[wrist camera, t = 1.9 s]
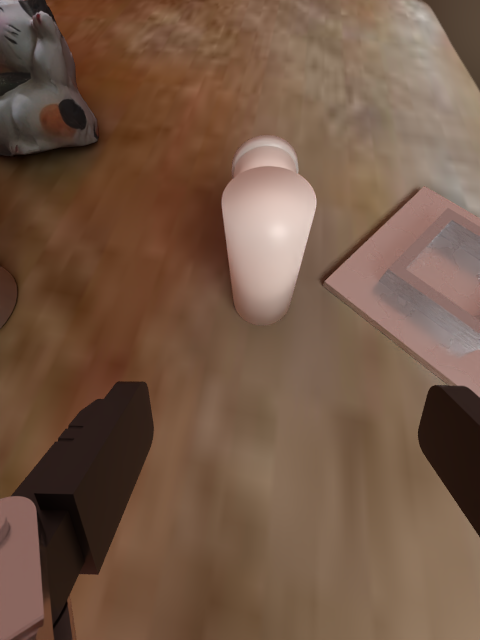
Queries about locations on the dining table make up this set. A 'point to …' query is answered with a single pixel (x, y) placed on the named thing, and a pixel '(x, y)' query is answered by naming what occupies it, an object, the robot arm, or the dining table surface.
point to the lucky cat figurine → (38, 84)
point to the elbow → (266, 227)
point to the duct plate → (422, 286)
